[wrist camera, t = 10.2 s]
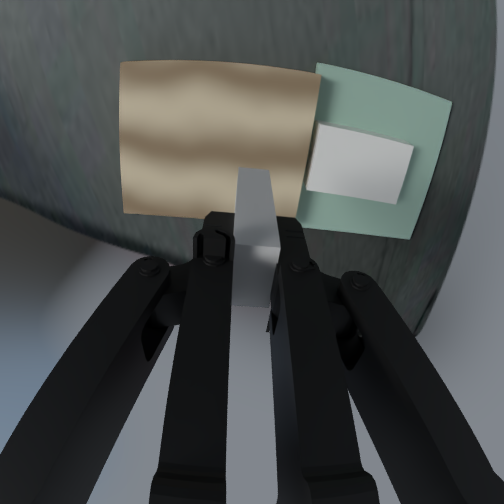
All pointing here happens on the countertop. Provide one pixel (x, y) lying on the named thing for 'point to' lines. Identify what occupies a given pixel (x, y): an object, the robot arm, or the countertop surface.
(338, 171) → the white rectangular block
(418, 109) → the mat
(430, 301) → the countertop surface
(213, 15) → the countertop surface
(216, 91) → the wooden board
